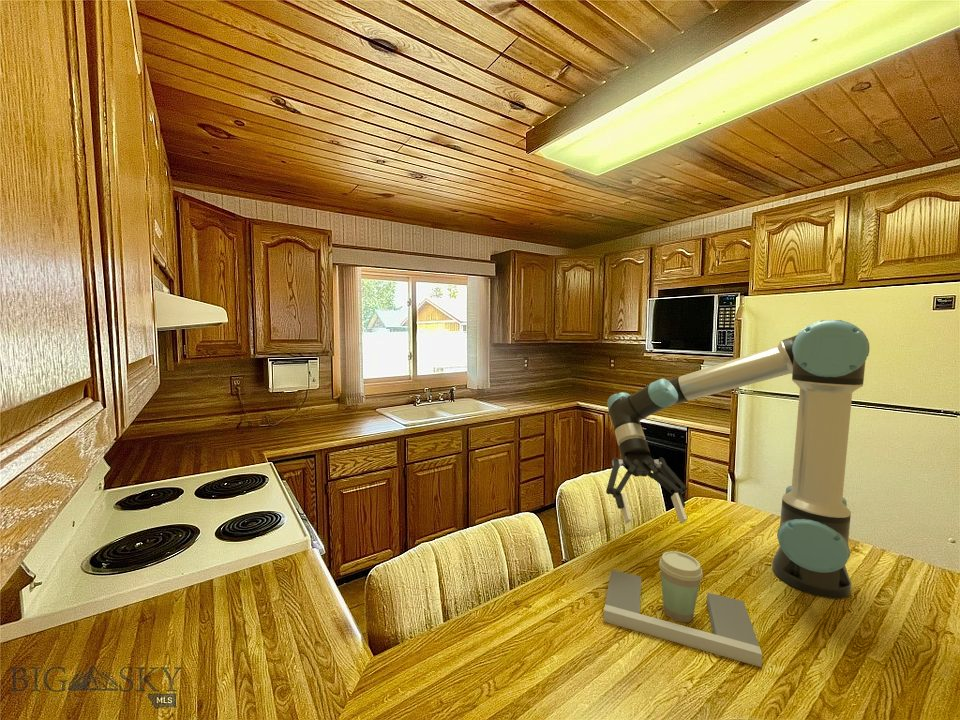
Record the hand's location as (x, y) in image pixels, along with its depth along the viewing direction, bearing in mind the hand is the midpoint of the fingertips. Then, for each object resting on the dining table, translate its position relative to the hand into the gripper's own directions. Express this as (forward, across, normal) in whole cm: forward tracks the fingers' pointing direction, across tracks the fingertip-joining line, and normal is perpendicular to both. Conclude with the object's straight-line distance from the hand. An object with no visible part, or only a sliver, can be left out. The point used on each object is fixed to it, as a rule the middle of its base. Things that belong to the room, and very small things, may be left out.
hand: (656, 521), depth 95 cm
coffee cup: (+18, -1, -5) cm, 19 cm away
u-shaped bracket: (+18, 0, -4) cm, 19 cm away
